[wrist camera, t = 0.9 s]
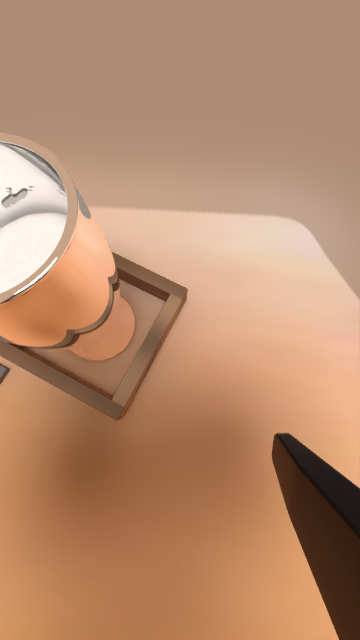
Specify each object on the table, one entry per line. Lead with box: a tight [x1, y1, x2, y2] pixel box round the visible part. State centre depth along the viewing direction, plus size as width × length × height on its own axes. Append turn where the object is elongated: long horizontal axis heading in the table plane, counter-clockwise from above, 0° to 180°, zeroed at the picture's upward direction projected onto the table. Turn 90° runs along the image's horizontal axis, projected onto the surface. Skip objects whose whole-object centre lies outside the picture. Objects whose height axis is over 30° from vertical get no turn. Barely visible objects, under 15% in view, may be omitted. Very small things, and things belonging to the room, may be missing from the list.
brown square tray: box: [0, 252, 188, 420], centre depth 22 cm, size 11×11×2 cm
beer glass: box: [0, 133, 135, 361], centre depth 16 cm, size 7×7×15 cm
